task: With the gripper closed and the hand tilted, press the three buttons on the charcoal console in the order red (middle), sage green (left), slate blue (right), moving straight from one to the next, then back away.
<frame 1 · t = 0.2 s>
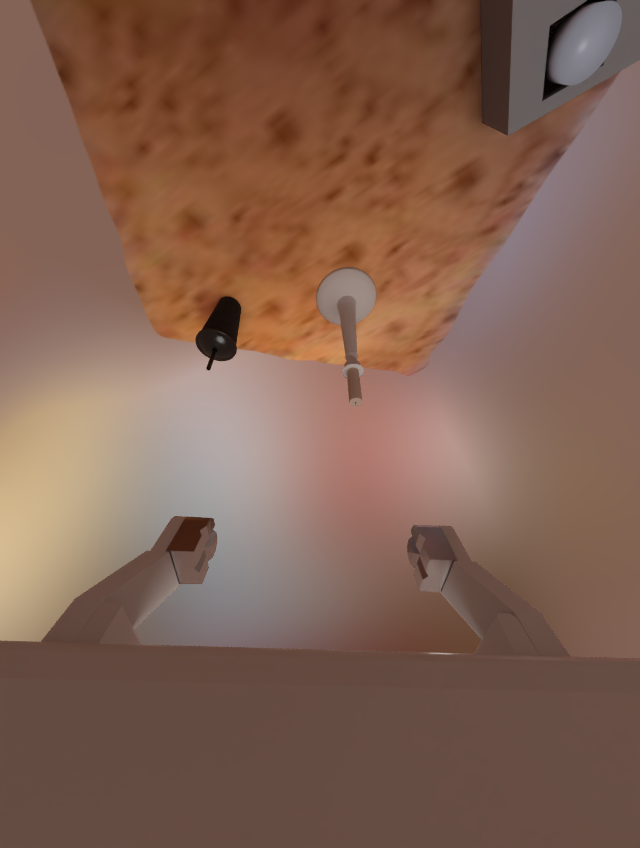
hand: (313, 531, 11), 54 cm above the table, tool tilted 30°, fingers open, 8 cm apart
candlestick: (345, 297, 59), on the table
blue button: (578, 46, 27), point 9 cm above the table, slide at 0.0 cm
drinking cup: (230, 306, 61), on the table
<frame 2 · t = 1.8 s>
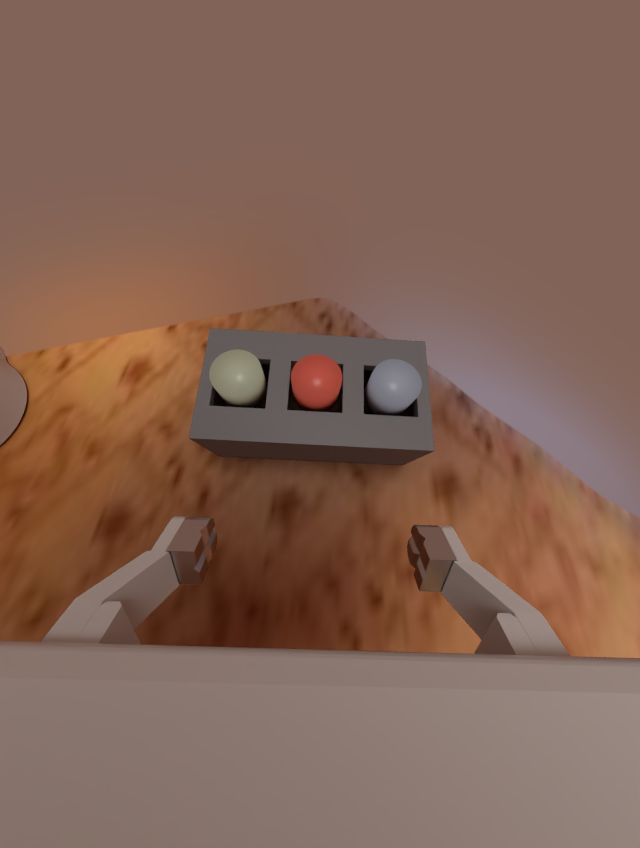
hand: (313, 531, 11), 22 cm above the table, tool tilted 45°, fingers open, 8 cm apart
blue button: (391, 389, 27), point 9 cm above the table, slide at 0.0 cm
console: (314, 415, 36), on the table
green button: (240, 380, 27), point 9 cm above the table, slide at 0.0 cm
red button: (316, 385, 27), point 9 cm above the table, slide at 0.0 cm
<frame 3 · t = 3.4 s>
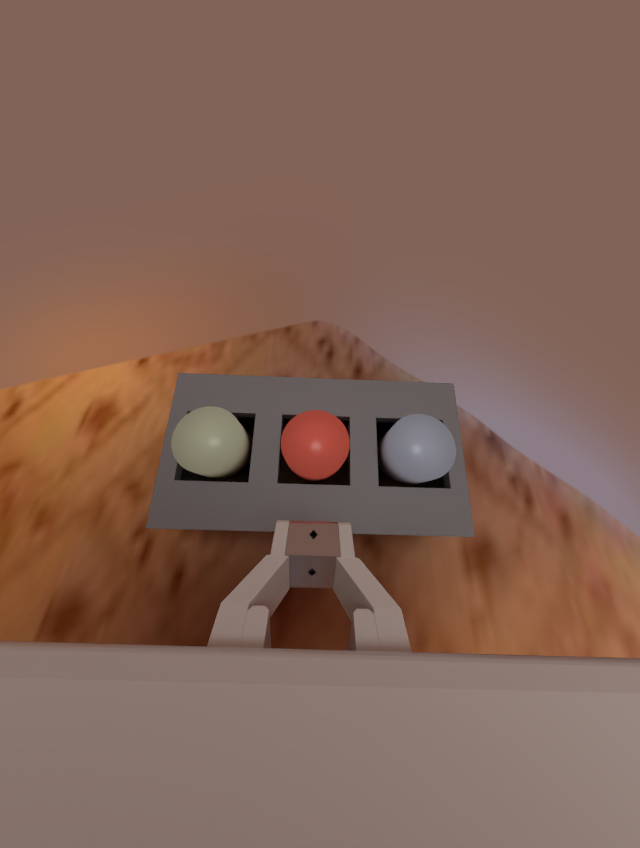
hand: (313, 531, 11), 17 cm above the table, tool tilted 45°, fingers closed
blue button: (413, 451, 21), point 9 cm above the table, slide at 0.0 cm
console: (313, 467, 29), on the table
green button: (215, 444, 20), point 9 cm above the table, slide at 0.0 cm
red button: (315, 447, 20), point 9 cm above the table, slide at 0.0 cm
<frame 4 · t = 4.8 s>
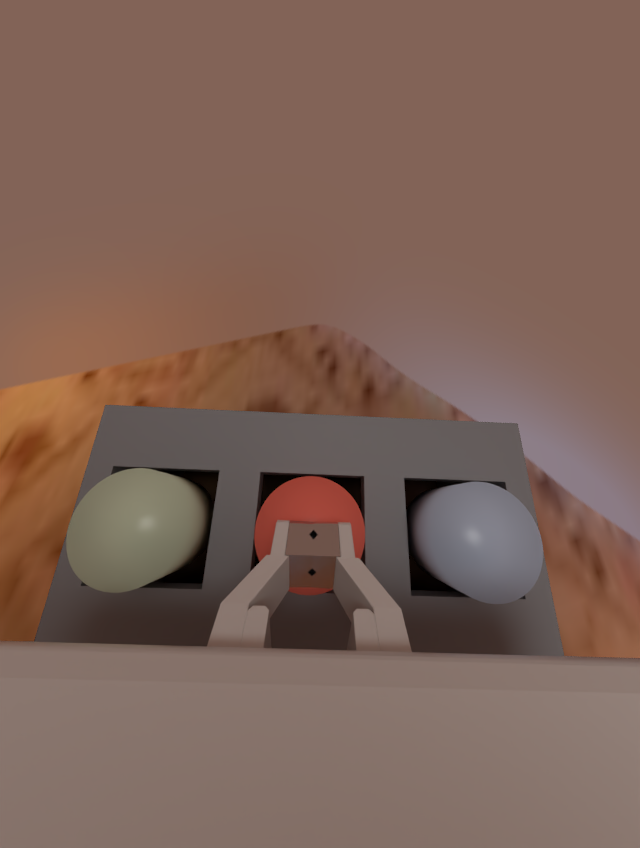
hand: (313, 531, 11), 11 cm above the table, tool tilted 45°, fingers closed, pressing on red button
blue button: (464, 535, 13), point 9 cm above the table, slide at 0.0 cm
console: (310, 522, 22), on the table
green button: (152, 524, 13), point 9 cm above the table, slide at 0.0 cm
red button: (310, 529, 13), point 9 cm above the table, slide at 0.4 cm, touching gripper
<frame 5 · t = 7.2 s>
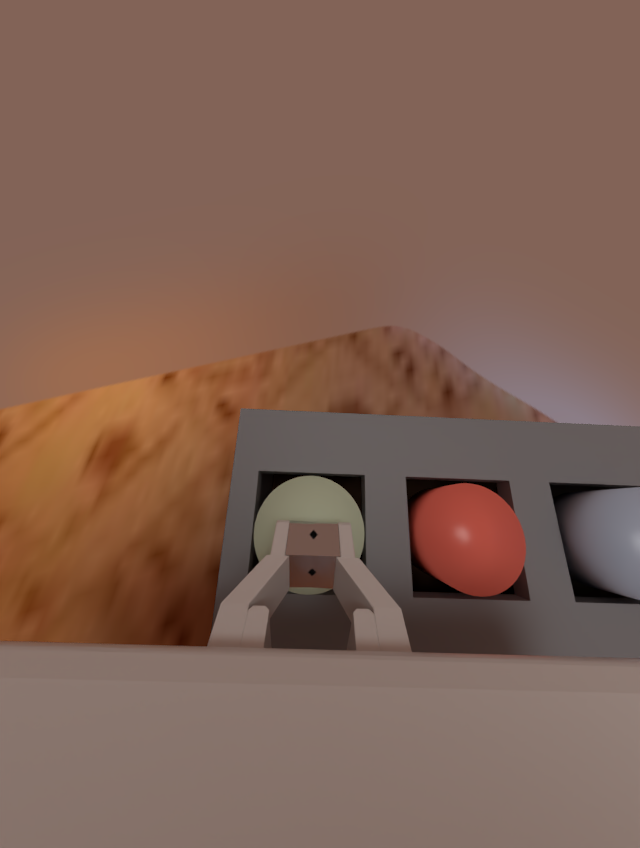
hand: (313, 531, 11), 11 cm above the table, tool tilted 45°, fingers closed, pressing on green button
blue button: (620, 540, 13), point 9 cm above the table, slide at 0.0 cm
console: (403, 525, 22), on the table
green button: (309, 528, 13), point 8 cm above the table, slide at 0.8 cm, touching gripper
red button: (454, 533, 14), point 8 cm above the table, slide at 1.2 cm
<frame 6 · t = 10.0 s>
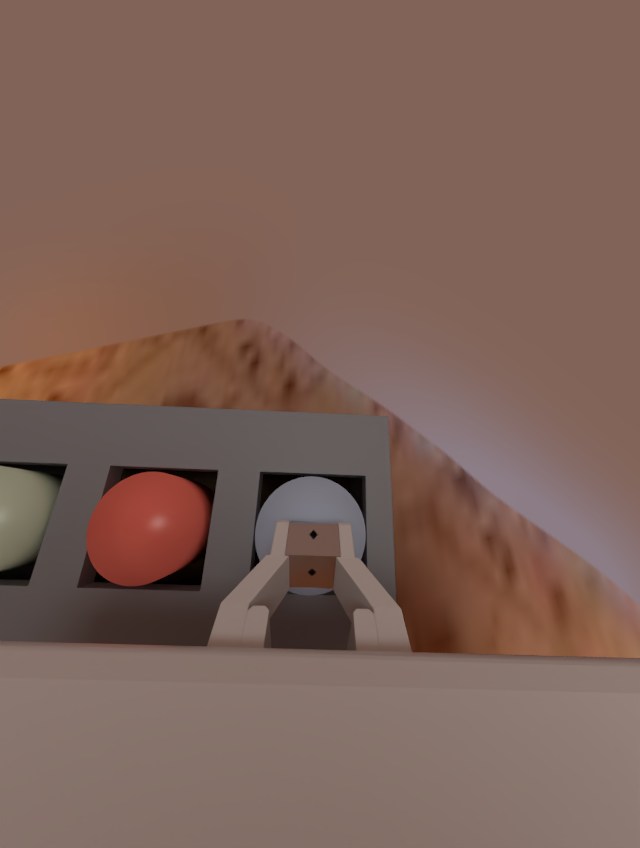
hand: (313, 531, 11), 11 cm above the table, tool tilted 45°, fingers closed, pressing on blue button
blue button: (310, 529, 13), point 9 cm above the table, slide at 0.7 cm, touching gripper
console: (215, 519, 21), on the table
green button: (12, 518, 14), point 8 cm above the table, slide at 1.3 cm
red button: (163, 523, 14), point 8 cm above the table, slide at 1.2 cm
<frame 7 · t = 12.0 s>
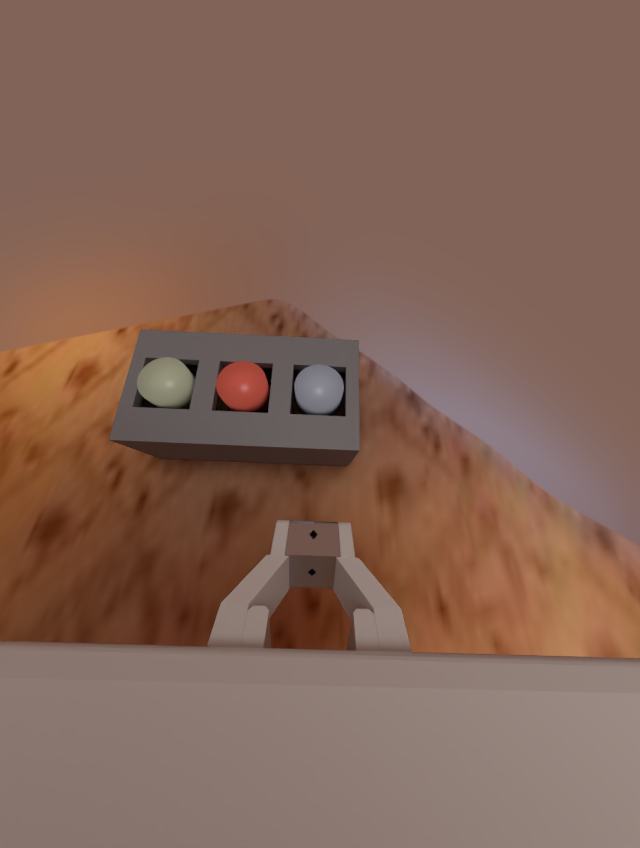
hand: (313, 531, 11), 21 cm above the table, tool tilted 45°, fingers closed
blue button: (318, 393, 28), point 8 cm above the table, slide at 1.2 cm
console: (259, 416, 35), on the table
green button: (171, 387, 28), point 8 cm above the table, slide at 1.3 cm
red button: (245, 390, 28), point 8 cm above the table, slide at 1.2 cm
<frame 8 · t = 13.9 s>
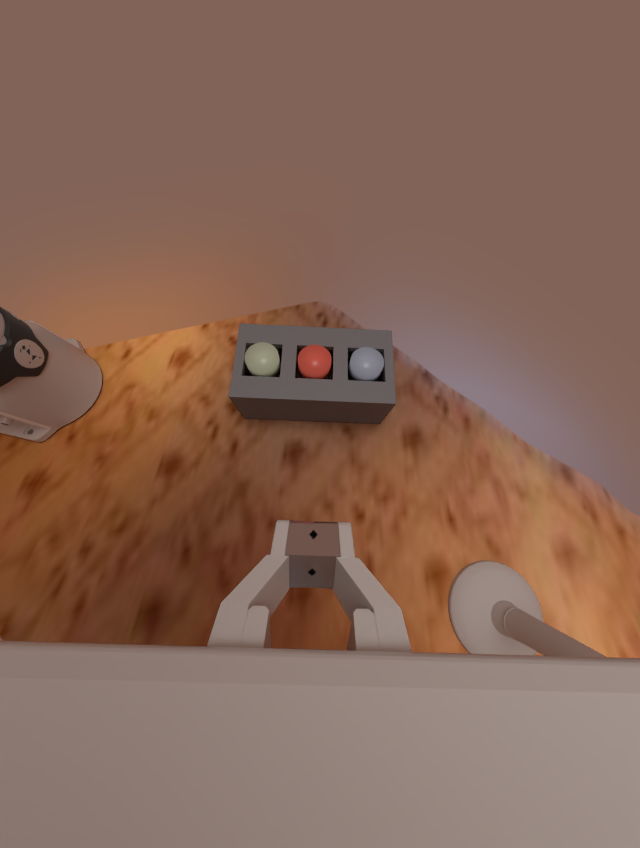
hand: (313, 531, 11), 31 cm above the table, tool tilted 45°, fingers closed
candlestick: (492, 610, 38), on the table
blue button: (365, 367, 40), point 8 cm above the table, slide at 1.2 cm
console: (314, 388, 48), on the table
green button: (263, 363, 40), point 8 cm above the table, slide at 1.3 cm
red button: (314, 365, 40), point 8 cm above the table, slide at 1.2 cm
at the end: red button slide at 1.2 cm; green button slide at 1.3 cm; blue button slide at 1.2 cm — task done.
